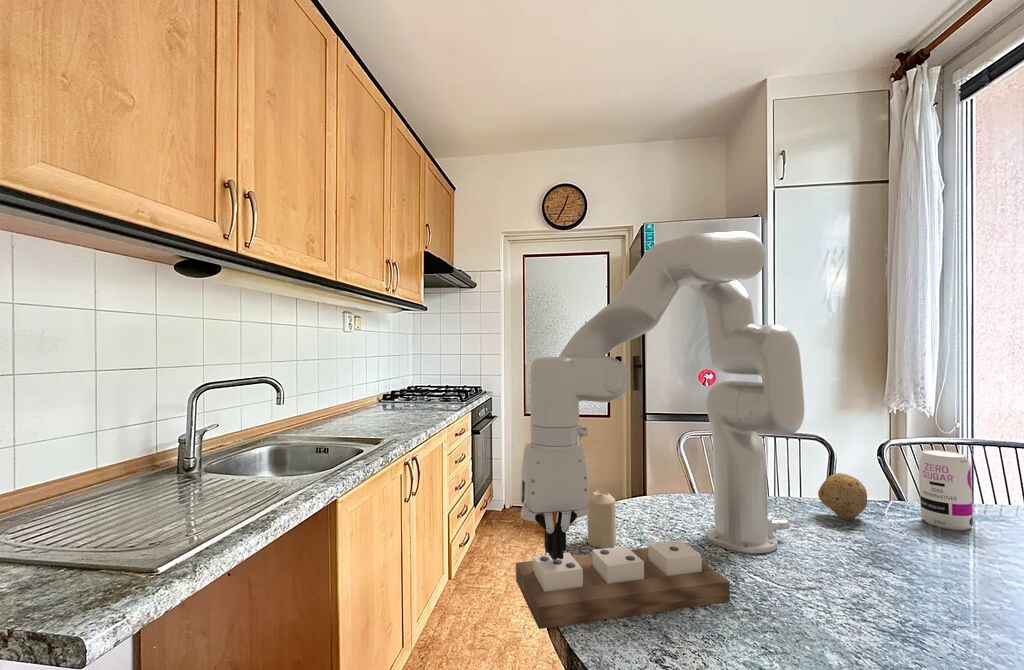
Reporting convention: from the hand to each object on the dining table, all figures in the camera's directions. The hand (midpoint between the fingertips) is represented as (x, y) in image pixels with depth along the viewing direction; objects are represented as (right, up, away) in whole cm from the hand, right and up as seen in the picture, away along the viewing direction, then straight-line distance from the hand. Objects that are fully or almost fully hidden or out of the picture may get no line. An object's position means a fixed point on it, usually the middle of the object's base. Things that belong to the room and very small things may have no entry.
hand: (555, 555), depth 73 cm
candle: (+11, -7, +21) cm, 25 cm away
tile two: (+10, -4, +2) cm, 11 cm away
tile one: (+20, -4, +4) cm, 21 cm away
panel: (+10, -7, +2) cm, 12 cm away
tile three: (0, -4, 0) cm, 4 cm away
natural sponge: (+67, -7, +32) cm, 75 cm away
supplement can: (+86, -7, +28) cm, 91 cm away
